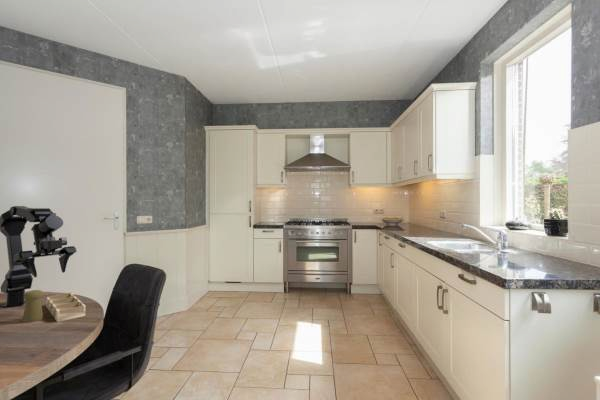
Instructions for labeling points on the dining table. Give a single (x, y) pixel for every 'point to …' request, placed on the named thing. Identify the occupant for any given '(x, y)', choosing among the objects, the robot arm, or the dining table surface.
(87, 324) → the dining table surface
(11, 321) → the dining table surface
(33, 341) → the dining table surface
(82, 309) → the wooden compartment tray
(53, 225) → the robot arm
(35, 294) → the cork
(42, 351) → the dining table surface
